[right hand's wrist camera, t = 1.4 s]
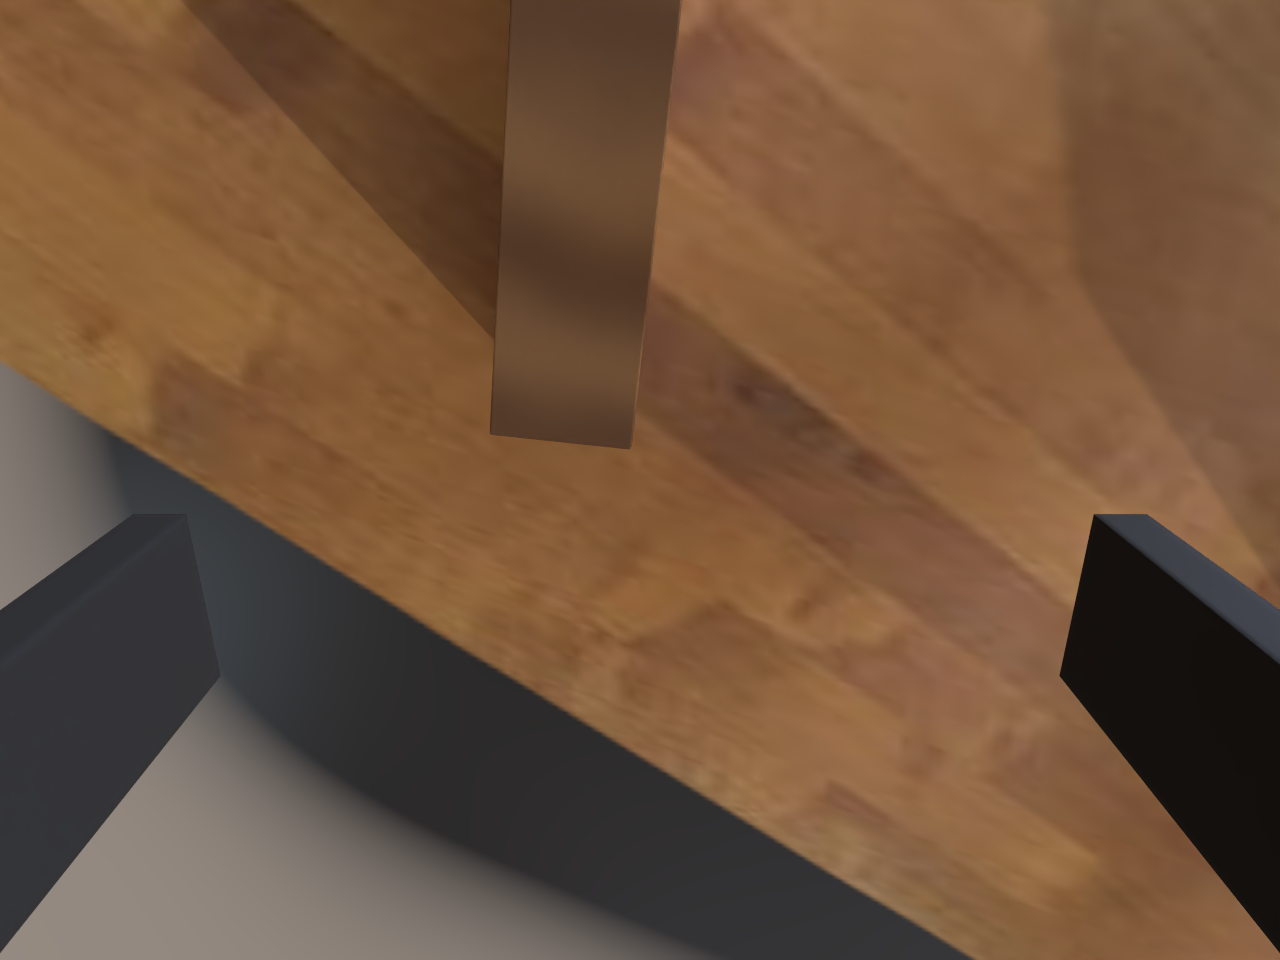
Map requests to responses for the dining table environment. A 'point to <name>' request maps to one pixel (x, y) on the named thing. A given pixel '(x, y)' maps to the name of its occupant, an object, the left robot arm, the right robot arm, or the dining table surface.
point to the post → (579, 214)
